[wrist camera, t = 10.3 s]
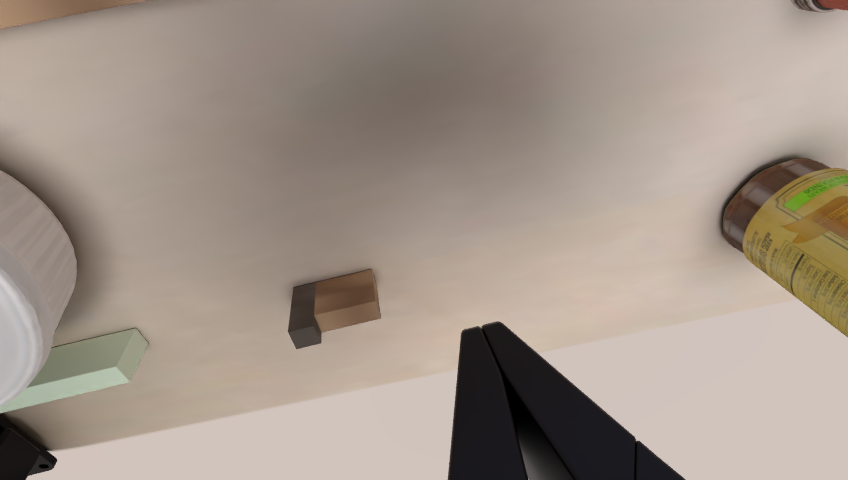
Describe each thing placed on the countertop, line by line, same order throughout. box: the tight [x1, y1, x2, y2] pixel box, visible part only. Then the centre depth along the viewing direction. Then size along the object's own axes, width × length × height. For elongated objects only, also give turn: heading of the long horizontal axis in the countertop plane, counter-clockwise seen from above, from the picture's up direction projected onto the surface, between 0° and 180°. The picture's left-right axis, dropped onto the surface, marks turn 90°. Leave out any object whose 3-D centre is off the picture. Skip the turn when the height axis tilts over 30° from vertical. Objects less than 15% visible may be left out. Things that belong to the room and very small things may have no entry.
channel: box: [0, 0, 381, 349], centre depth 17 cm, size 12×16×3 cm
